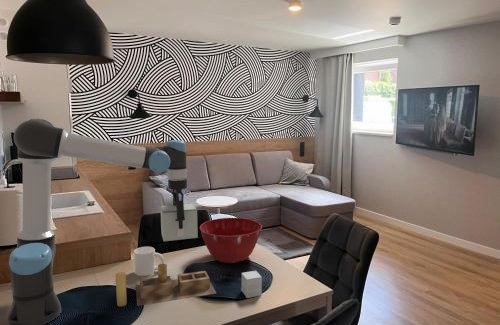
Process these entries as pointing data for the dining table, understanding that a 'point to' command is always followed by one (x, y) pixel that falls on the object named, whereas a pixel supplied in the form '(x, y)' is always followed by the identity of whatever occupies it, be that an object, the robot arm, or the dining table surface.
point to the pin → (121, 288)
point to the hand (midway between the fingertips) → (179, 231)
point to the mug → (146, 260)
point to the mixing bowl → (230, 238)
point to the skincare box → (251, 284)
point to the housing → (171, 225)
